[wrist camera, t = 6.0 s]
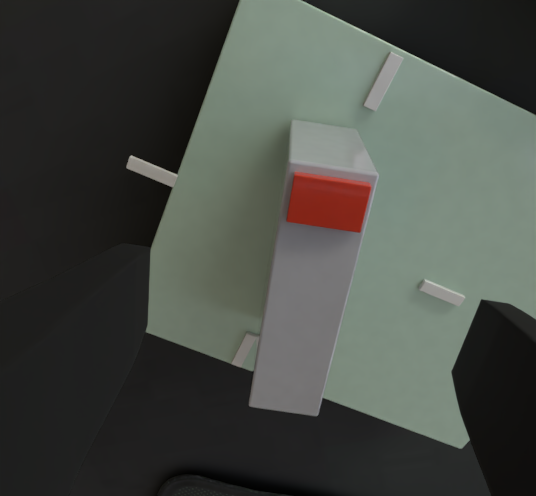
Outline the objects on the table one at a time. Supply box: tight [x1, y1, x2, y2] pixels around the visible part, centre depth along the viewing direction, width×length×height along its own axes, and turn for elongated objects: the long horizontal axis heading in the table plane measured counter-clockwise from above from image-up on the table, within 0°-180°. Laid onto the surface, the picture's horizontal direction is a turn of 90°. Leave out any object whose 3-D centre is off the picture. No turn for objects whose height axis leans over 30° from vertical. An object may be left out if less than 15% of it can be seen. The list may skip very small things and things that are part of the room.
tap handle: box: [248, 119, 379, 416], centre depth 12 cm, size 6×2×4 cm, turn 172°
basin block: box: [126, 0, 536, 449], centre depth 16 cm, size 14×11×3 cm
